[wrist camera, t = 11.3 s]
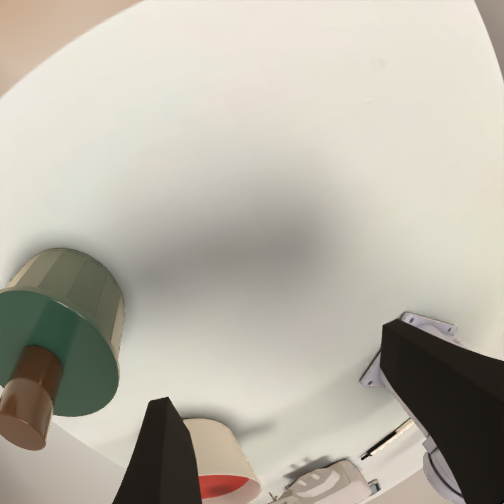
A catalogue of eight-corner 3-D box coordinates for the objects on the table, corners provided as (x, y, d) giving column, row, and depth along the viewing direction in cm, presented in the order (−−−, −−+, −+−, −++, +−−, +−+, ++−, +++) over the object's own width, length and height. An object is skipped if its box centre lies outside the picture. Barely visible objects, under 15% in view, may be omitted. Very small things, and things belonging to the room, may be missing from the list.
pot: (137, 269, 18) (128, 321, 13) (113, 361, 20) (106, 421, 15) (24, 232, 15) (-18, 271, 10) (17, 330, 17) (-9, 382, 12)
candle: (178, 470, 26) (187, 522, 20) (122, 428, 22) (122, 491, 16) (258, 442, 26) (278, 495, 21) (215, 393, 23) (232, 461, 17)
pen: (361, 457, 34) (358, 456, 34) (469, 364, 33) (468, 360, 32) (364, 462, 34) (360, 460, 33) (473, 367, 32) (472, 364, 31)
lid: (135, 309, 13) (126, 402, 8) (110, 416, 15) (106, 495, 10) (-18, 256, 10) (-81, 321, 6) (-11, 376, 13) (-40, 445, 8)
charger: (333, 441, 30) (360, 471, 37) (262, 477, 30) (307, 499, 37) (350, 473, 26) (374, 494, 33) (274, 509, 26) (317, 522, 33)
